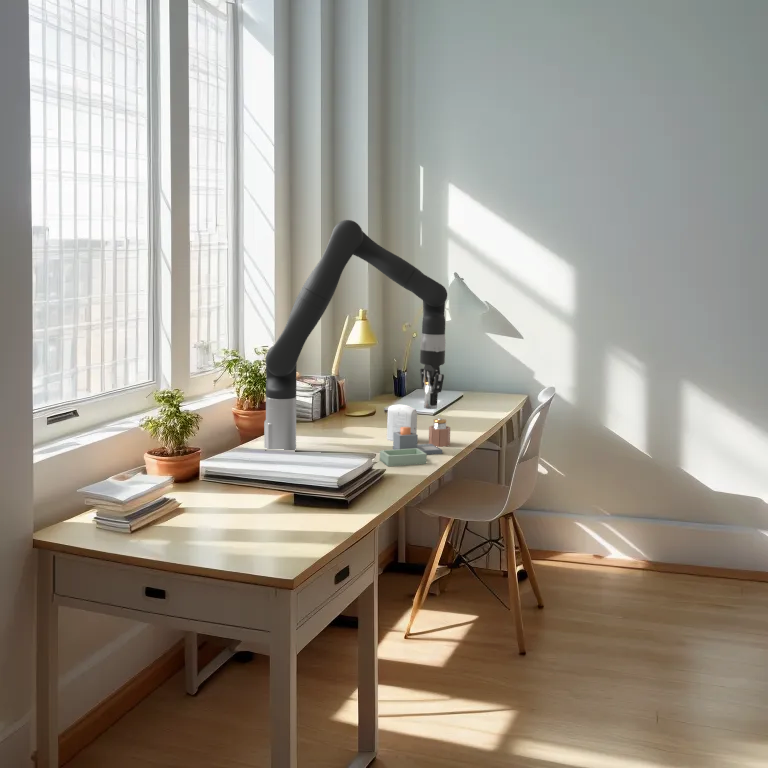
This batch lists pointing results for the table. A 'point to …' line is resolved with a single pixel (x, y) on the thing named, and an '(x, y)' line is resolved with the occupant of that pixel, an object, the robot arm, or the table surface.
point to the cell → (428, 397)
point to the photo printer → (400, 419)
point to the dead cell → (439, 423)
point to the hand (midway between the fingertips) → (430, 403)
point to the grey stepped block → (413, 443)
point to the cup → (439, 436)
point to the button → (405, 430)
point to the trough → (403, 457)
